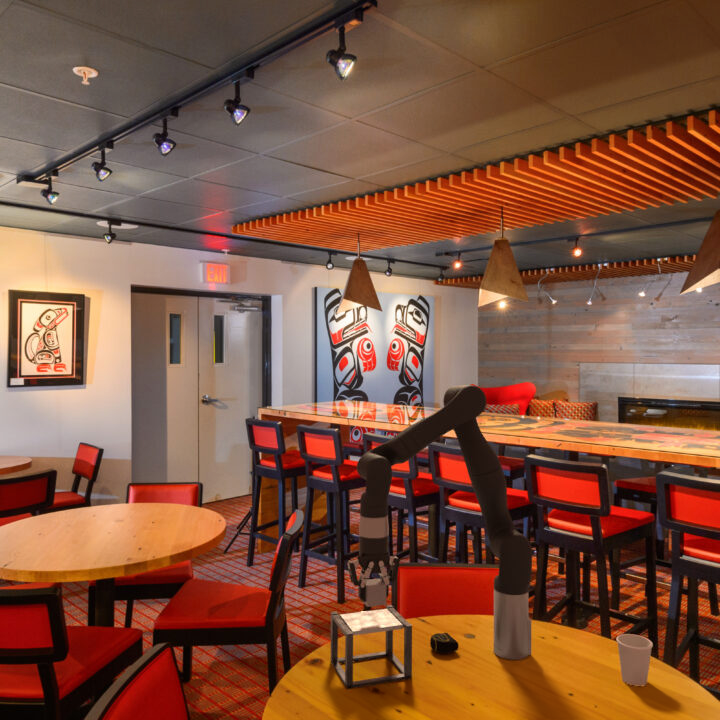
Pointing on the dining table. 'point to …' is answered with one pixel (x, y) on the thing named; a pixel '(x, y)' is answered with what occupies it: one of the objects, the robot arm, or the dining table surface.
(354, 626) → the trapdoor
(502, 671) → the dining table surface
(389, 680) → the frame
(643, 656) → the dixie cup
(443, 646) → the tape measure
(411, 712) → the dining table surface
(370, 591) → the gray cube
